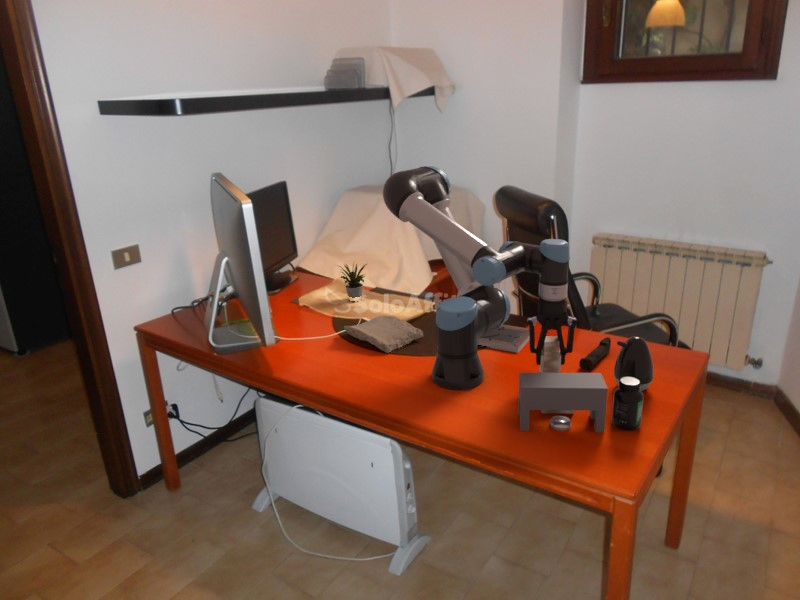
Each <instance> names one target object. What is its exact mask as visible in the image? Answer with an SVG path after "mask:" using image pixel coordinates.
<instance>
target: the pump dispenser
mask: <svg viewBox="0 0 800 600" xmlns="http://www.w3.org/2000/svg"><path fill="white" fill-rule="evenodd" d="M616 344H617V346H620V347H621V348H620V350H619V352H618V354H617V356H616V360H615V364H614V369H613V376H614V378H615V383H616V384H617V385H618V384H619V380H620V378H622V377H634V378H637V379H638V380H640V391H641V392H644V391H645V390H647V389H648V387H650V385H651V383H652V381H653V380H654V371H655V370H654V362H653V357H652V353H651V349H650V347H649V345H648V343H647V341H646V340H645V339H644V338H643V337H641V336H638V335H637V336H630V337H629V338H627V339H626V340H625V342H624V341H620V340H617V342H616Z"/></svg>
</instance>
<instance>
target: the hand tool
mask: <svg viewBox="0 0 800 600" xmlns="http://www.w3.org/2000/svg"><path fill="white" fill-rule="evenodd" d="M611 345H612V340H611V337H609V336H608V337H604V338H603V339H601V340H600V341H599V344H598V345H597V346H596V347H595V348H594V349H592V350H591V351H590V353H588V354H587V355H586V356H585V357H583V358H580V360H579V365H578V366H579V368H580V369H581V370H584V371H588V372H589V371H592V370H593V368H594V367H595V365H596V364H597V363H598V362H599V361H601V360H602V358H604V357H605V356H607V355H608V354H609V353H610V350H611Z"/></svg>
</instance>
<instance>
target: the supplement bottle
mask: <svg viewBox="0 0 800 600" xmlns="http://www.w3.org/2000/svg"><path fill="white" fill-rule="evenodd" d="M617 385H618V386H617V387H616V388H615V389H614V391H613V399H612V408H611V409H612V410H611V424H612V425H613V426H614V427H615V428H617V429H618V430H622V431H627V432H632V431H637V430H638V429H640V427H641V425H642V416H643V408H644V407H643V406H644V393H643V391H640V380H638V379H637V378H634V377H622V378H620V380H619V384H617Z"/></svg>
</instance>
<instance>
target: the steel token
mask: <svg viewBox="0 0 800 600" xmlns="http://www.w3.org/2000/svg"><path fill="white" fill-rule="evenodd" d="M549 426H550V427H551V428H552V429H554V430H556V431H559V432H561V431H562V432H563V431H569V430H570V428H571V427H572V420H571V419H570V418H569V417H567V416H566V415H565V416H564V415H554V416H552V417H550V420H549Z"/></svg>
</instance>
